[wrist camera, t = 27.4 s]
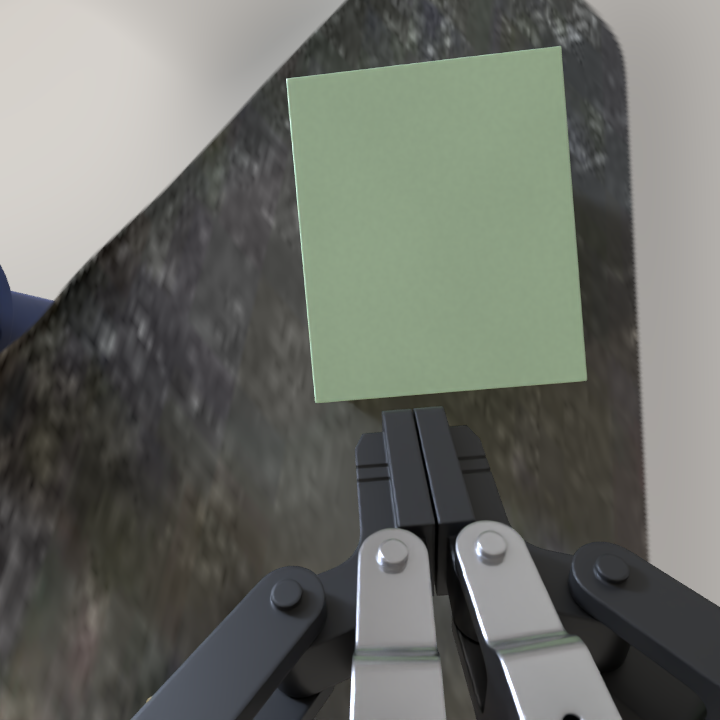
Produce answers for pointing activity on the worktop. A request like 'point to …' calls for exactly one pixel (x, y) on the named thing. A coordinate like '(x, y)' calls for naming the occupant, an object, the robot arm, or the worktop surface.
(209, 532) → the worktop surface
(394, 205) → the lid
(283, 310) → the worktop surface
